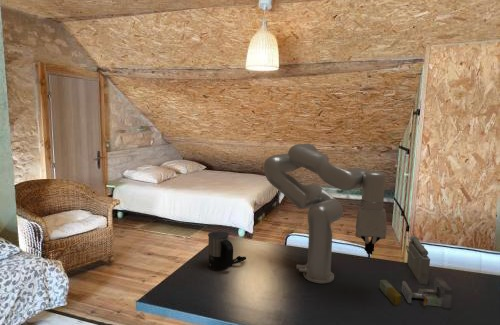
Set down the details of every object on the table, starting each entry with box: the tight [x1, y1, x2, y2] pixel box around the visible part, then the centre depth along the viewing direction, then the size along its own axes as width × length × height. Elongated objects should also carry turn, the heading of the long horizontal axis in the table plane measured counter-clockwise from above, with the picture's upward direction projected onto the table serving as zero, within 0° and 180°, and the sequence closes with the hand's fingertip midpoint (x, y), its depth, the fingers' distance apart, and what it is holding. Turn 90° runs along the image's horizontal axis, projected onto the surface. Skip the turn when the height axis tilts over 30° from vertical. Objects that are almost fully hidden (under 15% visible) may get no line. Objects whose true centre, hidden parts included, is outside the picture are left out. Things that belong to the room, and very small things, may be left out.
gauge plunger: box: [401, 280, 437, 307], centre depth 121 cm, size 11×10×4 cm
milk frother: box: [207, 230, 247, 272], centre depth 147 cm, size 14×16×15 cm
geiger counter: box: [405, 235, 431, 285], centre depth 145 cm, size 14×6×25 cm
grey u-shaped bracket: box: [420, 276, 453, 309], centre depth 122 cm, size 8×9×7 cm
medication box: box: [378, 279, 402, 306], centre depth 124 cm, size 12×3×4 cm, turn 4°
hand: (369, 252), depth 123 cm, fingers closed
